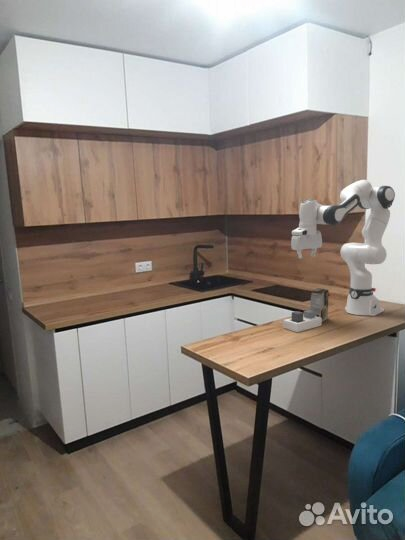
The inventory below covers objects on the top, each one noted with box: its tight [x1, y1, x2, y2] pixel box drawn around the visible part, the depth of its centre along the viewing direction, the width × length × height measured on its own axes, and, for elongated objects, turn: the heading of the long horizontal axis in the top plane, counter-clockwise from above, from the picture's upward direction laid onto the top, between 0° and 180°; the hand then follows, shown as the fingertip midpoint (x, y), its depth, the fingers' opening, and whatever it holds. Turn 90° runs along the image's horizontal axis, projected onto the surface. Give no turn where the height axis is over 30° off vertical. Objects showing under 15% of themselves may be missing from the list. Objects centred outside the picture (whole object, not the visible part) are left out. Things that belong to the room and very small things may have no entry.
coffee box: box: [309, 287, 329, 323], centre depth 216 cm, size 9×6×16 cm
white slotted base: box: [282, 309, 323, 333], centre depth 206 cm, size 18×9×7 cm, turn 125°
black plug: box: [291, 310, 304, 323], centre depth 203 cm, size 4×4×7 cm
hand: (306, 257), depth 215 cm, fingers open, 8 cm apart
